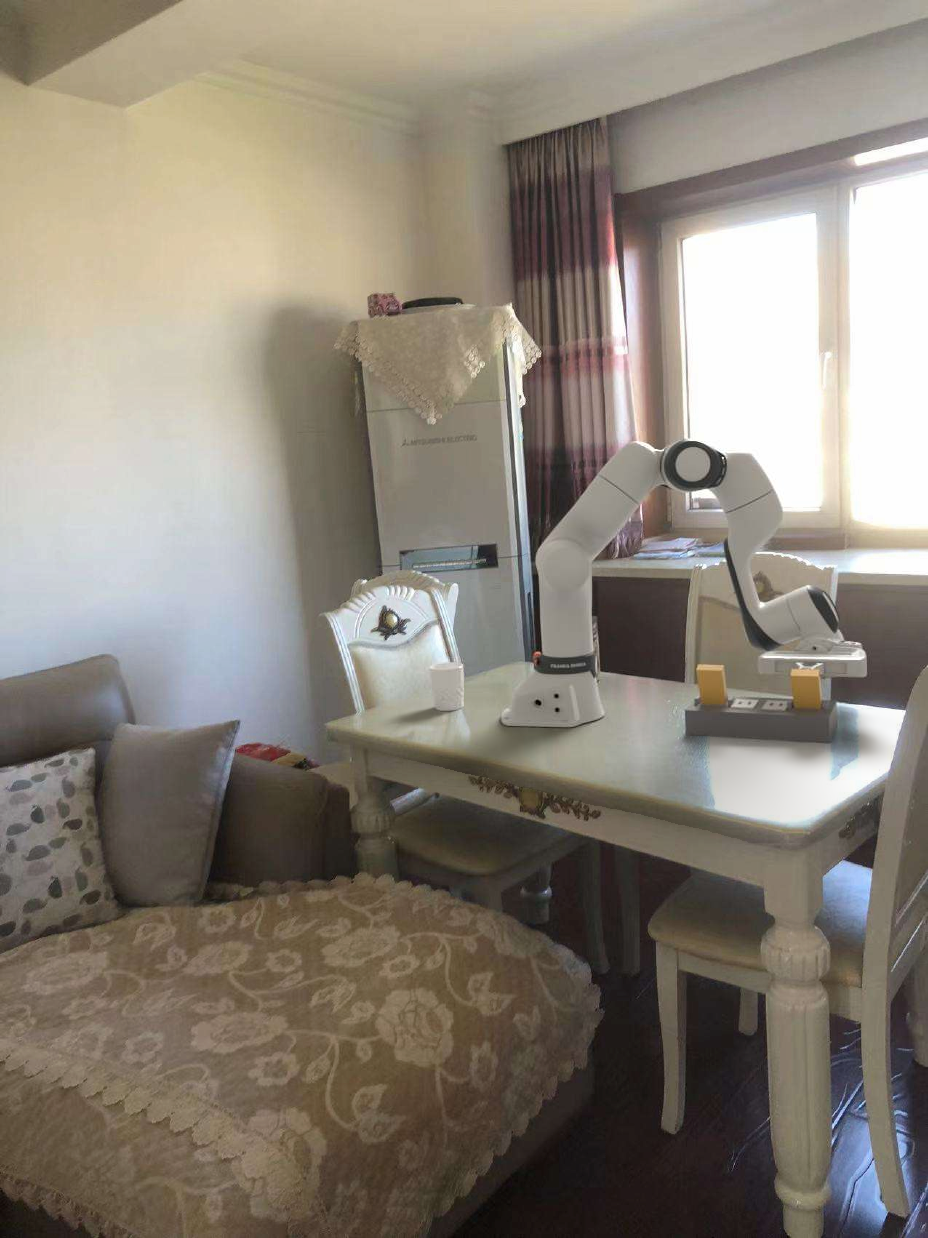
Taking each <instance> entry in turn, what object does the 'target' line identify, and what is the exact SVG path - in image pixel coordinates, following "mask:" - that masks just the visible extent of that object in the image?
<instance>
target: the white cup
mask: <svg viewBox="0 0 928 1238" xmlns="http://www.w3.org/2000/svg"><path fill="white" fill-rule="evenodd" d="M429 673H430V683H431V690H432V696H433V697H432V698H433V700H434V708H435V710H437V711H441V712H453V711H458V710H461V709H463V708H464V707H465V702H464V701H465V698H464V696H465V686H464V685H465V681H464V680H465V676H464V664H463V663H461V662H458V661H457V662H456V661H455V662H454V661H450V662H449V661H447V662H440V663H435V664H432V665H430V666H429Z"/></svg>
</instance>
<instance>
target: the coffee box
mask: <svg viewBox="0 0 928 1238" xmlns="http://www.w3.org/2000/svg"><path fill="white" fill-rule="evenodd" d="M592 632H593V650H594V651H595V652H596V657H597V676H596V681H598V680H599V679H600V680H601V664H600V663H601V662H600V661H601V660H600V644H599V630H598V616H597V615H592ZM600 680H599V681H600ZM599 681H598V682H599Z"/></svg>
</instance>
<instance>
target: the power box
mask: <svg viewBox="0 0 928 1238" xmlns="http://www.w3.org/2000/svg"><path fill="white" fill-rule="evenodd" d="M837 702H838V701H837V700H830V699H829V700H828V699H825V700H824V699H822V708H821V709H809V708H794V703H793V698H778V697H761V696H760V697H759V696H758V697H757V696H756V697H755V696H735V695H733V696H731V695H728V700H727V703H726V704H708V703H701V700H700V694H697V695H696V696H694V699H693V701H692V702H691V703H690V704H689V705H688V706H687V707H686V708H685V709H684V720H685V721H684V722H685V724H684V725H685V735H687V736H688V735H689V736H704V737H707V736H708V737H724V738H737V739H738V738H741V739H754V740H755V739H758V740H773V741H791V742H803V743H804V742H806V743H825V744H830V742H831V740H832V739H833V736H834V734H835V731H836V729H837V727H838V703H837Z"/></svg>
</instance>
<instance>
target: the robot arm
mask: <svg viewBox="0 0 928 1238" xmlns="http://www.w3.org/2000/svg"><path fill="white" fill-rule="evenodd" d="M659 486H661V487H665V488H667V489H670V490H672V491H675V492H677V493H678V492H679V493H693V492H698V491H703V490H708V491H710V492H711V493H712V494H713V495H714V496H715V498H716V499H717V500H718V503H719V504H720V506H721V509H722V511H723V513H724V515H725V517H726V520H727V525H728V533H727V536H726V537H725V539H724V541H723V553H724V558H725V561H726V566H727V569H728V573H729V576H730V580H731V583H732V586H733V590H734V593H735V596H736V601H737V604H738V608H739V612H740V614H741V615H740V616H741V620H742V625H743V630H744V634H745V636H746V639H747V640H748V643H749V644H750V646H752V647H753V648H756V649H757V650H761V651H764V653H761V655H759V656H758V658H757V668H758V671H757V672H758V673H759V674H761V675H771V676H774V675H776V676H790V675H791V671H792V669H810V670H820V681H822V680H826V679H833V678H837V677H839V678H840V677H841V678H842V677H843V678H865V677H867V675H868V671H867V670H868V669H867V668H868V666H867V665H868V664H867V662H868V660H867V653H866V651H865V650H864V649H863V645H862V643H860V642H858V641H857V642H855V641H848V640H845V638H844V635H843V634H842V632H841V630H840V629H839V628H840V623H841V618H840V615H839V612H838V609H837V608H836V604H835V603H834V601H833V599H832V598H831V596H830V594H828V593H827V592H826V591H825V590H823V589H821V588H820V587H818V586H815V585H812V584H807V585H804V586H802V587H799V588H797V589H794V590H791V591H790V592H788V593H785V594H782V595H781V596H779V597H776V598H774V599H771V600H769V601H766V602H762V601H761V600H760V599H759V595H758V591H757V588H756V585H755V582H754V578H753V574H752V571H751V561H752V559H753V557H754V556H755V554H756V553H757V552H758V550H760V549H761V548H762V547H763V546H764V545H765V544H766V543H767V542H768V541H769V540H770V539H771V538H772V537H773V536H774V534H776V532H778V531H777V530H778V529H779V527H780V526H781V524H782V520H783V515H784V514H783V513H784V512H783V507H782V504H781V500H780V498H779V495H778V494H777V491H776V489H775V488H774V486H773V484H772V482H771V480H770V478H769V477H768V475H767V473H766V472H765V471H764V469H763V467H762V466H761V465H760V463H759V462H758V460H757V459H756V457H755V456H754V455H753V453H751V452H750V451H748V450H745V449H732V450H729V451H726V452H722V451H719V450H718V449H717V448H716V447H714V446H713V445H711V444H709V443H707V442H706V441H704V440H702V439H699V438H698V439H697V438H692V437H691V438H682V439H677V440H675V441H673V442H672V443H670V444H668V445H666V446H664V447H662V448H660V449H655V448H654V447H653V446H651V445H650V444H648V443H646V442H644V441H638V440H632V441H629V442H627V443H625V444H624V445H623V446H622V447H621V448H620V449H619V450H617V452H616V453H615V454H614V455H613V456H612V457H610V459H609V460H608V461H607V462H606V464H604V466H602V468H601V469H600V471H599V472H597V475H596V476H595V477H594V478H593V480H592V481H591V483H589V484H588V487H586V489H585V491H583V493H582V495H580V496H579V498H578V499H577V501H576V502H575V504H574V505H573V506H572V507H571V509H570V510H569V511H568V512H567V513H565V514H566V515H564V516H563V518H562V519H561V520H560V521H559V522H558V523H557V524H556V526H555V527H554V528H553V529H552V531H550V534H548V535H547V537H546V538H545V539H544V540H543V542H542V543H541V545H540V546H539V547H538V549H537V550H536V551H537V552H536V553H535V567H536V569H537V574H538V586H539V587H538V589H539V612H540V613H539V615H540V617H539V619H540V634H541V635H540V637H541V651H542V652H540V651H536V652H534V654H533V656H532V660H533V669H534V671H533V672H532V673H530V674H529V675H528V676H527V677H525V679H523V680H522V681H521V682H519V684H517V686H516V687H515V688H514V689H513V692H512V694H511V699H510V706H509V707H507V708H506V709H504V710H503V711H502V713H501V717H500V718H501V723H502V724H503V725H505V726H509V727H546V728H547V727H549V728H574V727H576V726H579V725H582V724H585V723H589V722H592V721H596V720H599V719H601V718H603V717H604V716H605V714H606V712H605V710H604V707H603V704H602V702H601V697H600V693H599V688H598V682H597V681H596V676H597V657H596V652H595V651H594V650H593V632H592V616H593V615H592V613H593V611H592V609H593V608H592V607H593V581H592V579H593V577H592V575H593V574H592V570H593V569H592V562H593V561H594V560H595V559H596V558H597V557H598V555H600V553H602V551H603V550H604V549H605V548H606V547H607V546H608V545H609V543H611V542H612V541H613V540H614V539H615V538H616V537H617V536H618V535H619V534H620V532H621V531H622V529H623V528H624V526H625V525H626V524H627V523H628V521H630V519H631V518H632V516H633V515H634V513H636V511H637V510H638V508H639V507H640V505H641V504H642V503H643V501H644V500H645V499H646V497H648V495H649V494H650V493H651V492H652V491H653V490H654V489H656V488H657V487H659ZM799 639H801V640H800V641H799V642H798V644H797V645H796V646H795V649H794V650H777V649H778V648H781V647H783V646H784V645H786V644H787V643H790V642H793V641H796V640H799Z"/></svg>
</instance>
